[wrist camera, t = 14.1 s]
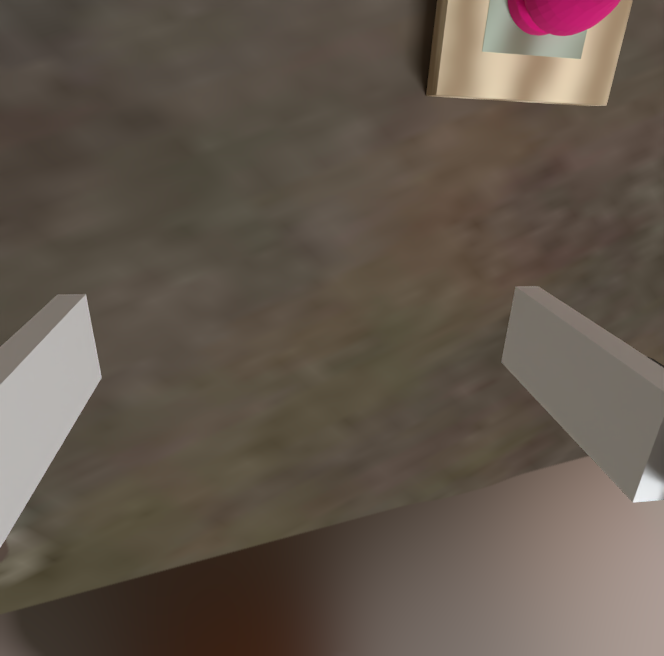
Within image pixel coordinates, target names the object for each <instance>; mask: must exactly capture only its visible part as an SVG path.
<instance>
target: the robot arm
mask: <svg viewBox="0 0 664 656" xmlns="http://www.w3.org/2000/svg"><path fill="white" fill-rule="evenodd" d="M501 362H502V363H503V364H504V366H505V367H506V368H507V369H508V370H509V371H510V372H511V373H512V374H513V375H514V376H515V377H516V378H517V379H518V380H519V382H520V383H521V384H522V385H523V386H524V387H525V388H526V389H527V390H528V391H529V392H530V393H531V394H532V395H533V397H534V398H535V399H536V400H537V401H538V402H539V403H540V404H541V405H542V406H543V407H544V408H545V409H546V410H547V411H548V413H549V414H550V415H551V416H552V417H553V418H554V419H555V420H556V421H557V422H558V423H559V424H560V425H561V426H562V427H563V429H564V430H565V431H566V432H567V433H568V434H569V435H570V436H571V437H572V438H573V439H574V440H575V441H576V442H577V443H578V445H579V446H580V447H581V448H582V449H583V450H584V451H585V452H586V453H587V454H588V455H589V456H590V457H591V458H592V460H593V461H594V462H595V463H596V464H597V465H598V466H599V467H600V468H601V469H602V470H603V471H604V472H605V473H606V474H607V475H608V476H609V478H610V479H611V480H612V481H613V482H614V483H615V484H616V485H617V486H618V487H619V488H620V489H621V490H622V492H623V493H624V494H625V495H626V496H627V497H628V498H629V499H630V500H631V501H632V502H644V501H656V500H664V366H663V365H661V364H660V363H658V362H657V361H655V360H654V359H652V358H649V357H647V356H645V355H643V354H642V353H640V352H639V351H637V350H636V349H634V348H632V347H631V346H629V345H628V344H626V343H625V342H623V341H622V340H620V339H619V338H617V337H616V336H614V335H612V334H611V333H609V332H608V331H606V330H605V329H603V328H602V327H600V326H599V325H597V324H596V323H594V322H592V321H591V320H589V319H588V318H586V317H585V316H583V315H582V314H580V313H579V312H577V311H575V310H574V309H572V308H571V307H569V306H568V305H566V304H565V303H563V302H562V301H560V300H559V299H557V298H555V297H554V296H552V295H551V294H549V293H548V292H546V291H545V290H543V289H542V288H540V287H539V286H517V287H516V288H515V293H514V298H513V303H512V309H511V314H510V319H509V324H508V330H507V335H506V340H505V346H504V351H503V356H502V361H501ZM101 378H102V377H101V372H100V367H99V361H98V356H97V351H96V345H95V340H94V335H93V329H92V324H91V319H90V314H89V308H88V303H87V298H86V294H68V295H57V296H56V297H54V298H53V299H52V300H51V301H50V302H49V303H48V304H47V305H46V306H45V307H44V308H42V309H41V310H40V311H39V312H38V313H37V314H36V315H35V316H34V317H33V318H32V319H30V320H29V321H28V322H27V323H26V324H25V325H24V326H23V327H22V328H21V329H20V330H18V331H17V332H16V333H15V334H14V335H13V336H12V337H11V338H10V339H9V340H7V341H6V342H5V343H4V344H3V345H2V346H1V347H0V547H1V546H2V544H3V542H4V541H5V539H6V537H7V536H8V534H9V532H10V531H11V529H12V527H13V526H14V524H15V522H16V521H17V519H18V517H19V516H20V514H21V512H22V510H23V509H24V507H25V505H26V504H27V502H28V500H29V499H30V497H31V495H32V494H33V492H34V490H35V489H36V487H37V485H38V484H39V482H40V480H41V479H42V477H43V475H44V474H45V472H46V470H47V468H48V467H49V465H50V463H51V462H52V460H53V458H54V457H55V455H56V453H57V452H58V450H59V448H60V447H61V445H62V443H63V442H64V440H65V438H66V437H67V435H68V433H69V432H70V430H71V428H72V426H73V425H74V423H75V421H76V420H77V418H78V416H79V415H80V413H81V411H82V410H83V408H84V406H85V405H86V403H87V401H88V400H89V398H90V396H91V395H92V393H93V391H94V390H95V388H96V386H97V384H98V383H99V381H100V379H101Z"/></svg>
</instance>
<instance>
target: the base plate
mask: <svg viewBox="0 0 664 656" xmlns="http://www.w3.org/2000/svg"><path fill="white" fill-rule="evenodd" d="M632 1H633V0H621V1H620V2H619V3H618V5H617V6H616V7H615V8H614V9H613V11H612V12H611V13H610V14H608V15H607V16H606V17H605V18H604V19H603V20H601V21H600V22H599V23H598V24H596V25H595V26H593V27H591V28H589V29H587V30H584V31H582V32H580V33H577V34H574V35H569V36H556V35H552V34H547V35H541V36H537V35H530V34H528V33H526V32H524V31H522V30H521V29H520V28H519V27H518V26H517V25H516V24H515V22H514V21H513V19H512V17H511V15H510V11H509V8H508V0H437V5H436V14H435V23H434V31H433V40H432V49H431V57H430V66H429V75H428V83H427V92H426V96H436V97H452V98H468V99H484V100H500V101H516V102H532V103H548V104H564V105H580V106H606V105H607V101H608V97H609V93H610V89H611V85H612V81H613V77H614V73H615V69H616V65H617V61H618V57H619V53H620V49H621V45H622V41H623V37H624V33H625V29H626V25H627V21H628V17H629V13H630V9H631V5H632Z"/></svg>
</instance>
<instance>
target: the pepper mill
mask: <svg viewBox="0 0 664 656" xmlns="http://www.w3.org/2000/svg"><path fill="white" fill-rule="evenodd" d="M620 1H621V0H508V8H509V11H510V15H511V17H512V19H513V21H514V22H515V24H516V25H517V26H518V27H519V28H520V29H521V30H522V31H524V32H526V33H528V34H530V35H537V36H541V35H547V34H552V35H556V36H569V35H574V34H577V33H580V32H582V31H584V30H587V29H589V28H591V27H593V26H595V25H596V24H598V23H599V22H600V21H601V20H603V19H604V18H605V17H606V16H607V15H608V14H610V13H611V12H612V11H613V9H614V8H615V7H616V6H617V5H618V3H619V2H620Z"/></svg>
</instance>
